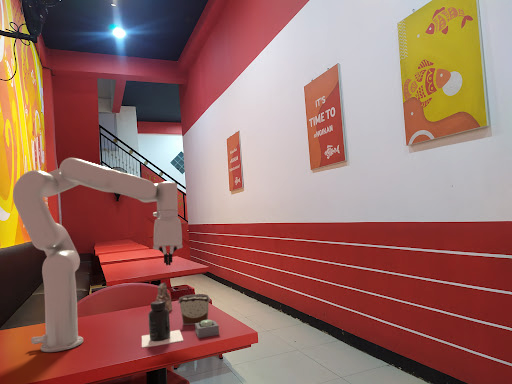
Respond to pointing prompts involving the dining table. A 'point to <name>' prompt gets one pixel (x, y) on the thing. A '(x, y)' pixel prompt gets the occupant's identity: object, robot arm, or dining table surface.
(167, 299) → the figurine
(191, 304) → the food container
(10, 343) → the dining table surface
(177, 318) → the dining table surface
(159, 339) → the supplement bottle
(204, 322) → the button
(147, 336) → the paper sheet
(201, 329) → the button housing
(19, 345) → the dining table surface
